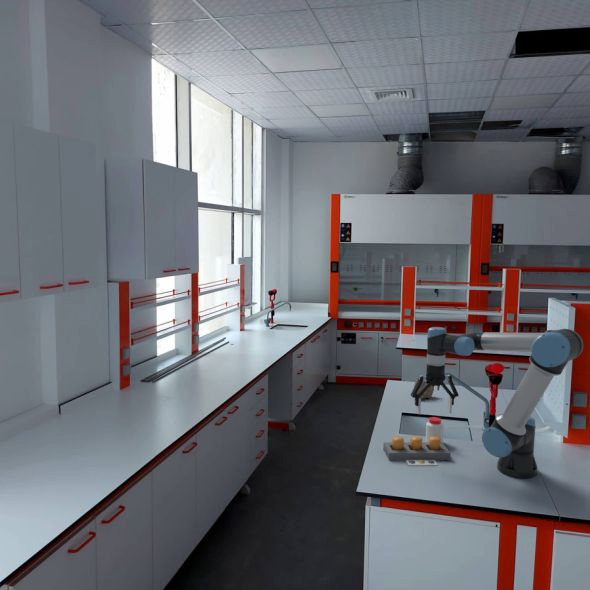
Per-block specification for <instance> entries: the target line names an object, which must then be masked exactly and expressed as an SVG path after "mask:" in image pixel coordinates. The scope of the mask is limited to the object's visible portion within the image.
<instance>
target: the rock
mask: <svg viewBox="0 0 590 590" xmlns="http://www.w3.org/2000/svg"><path fill="white" fill-rule="evenodd" d="M425 382H426V381H425V380H424V381H423V382H422V384H421V386H420V388H419V390H420V389H421V388H422V386H423V385H424V384H425ZM416 383H417V381H415V383H414V385H413V388H414V387H415V385H416ZM419 390H418V391H419ZM434 390H435V386H430V387H428V389H427V390H426V391H425V392H424V393H423V394H422V395H421V397H420V399H421V400H422V399H426V398H427V399H429V398H430V399H431V398H432V396H433V394H434Z"/></svg>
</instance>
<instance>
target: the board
mask: <svg viewBox="0 0 590 590" xmlns="http://www.w3.org/2000/svg"><path fill="white" fill-rule="evenodd" d="M428 447H429V442H426V441H425V442H424V441H422V450H411V449H410V441H408V442H404V450H393V449H392V441H391V442H389V441H387V442H383V451H384V454H385V455H386V458H387V459H388V461H406V460H435V461H437V460H439V461H441V460H442V461H444V460H445V461H446V460H447V461H450V460H451V452H450V450H449V449H448V448H447V447H446V446H445V444H444V442H443V443H442V442H441V445H440V450H430V449H429V448H428Z"/></svg>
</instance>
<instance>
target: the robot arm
mask: <svg viewBox="0 0 590 590" xmlns="http://www.w3.org/2000/svg"><path fill="white" fill-rule="evenodd" d="M426 339H427V340H426V341H427V344H426V345H427V348H426V363H427V364H426V368H425V369H426V371H425V372H426V373H425V374H426V375H421V374H419V375H418V378H417V381H416V382H417V383H416V385H415V384H414V385H415V387H414V386H413V389H412V391H411V393H410V396H411V397H412V398H414V405H415V407H416V414H418V415H421V412H422V411H421V410H422V409H421V406H422V405H421V404H422V399H420V397H421V395H422V394H423V393H424V392H425V391H426V390H427V389H428V387H430V386H434V387H439V386H441V387H442V388H443V390H444V391H445V393H447V394H448V396H447V408H446V409H447V411H446V412H448V414H452V411H453V409H452V408H453V406H454V405H455V399H456V397H460V395H459V392H458V390H457V388H456V386H455V383H454V382H453V376H452V375H451V374H445V373H446V365H445V364H446V353H449V354H453V355H457V356H458V355H459V356H470V355H472V353H473V352H474V351H493V352H495V351H496V352H518V353H519V352H522V353H523V352H524V353H531V354H530V356H529V358H528V359H529V362H530V365H529V366H528V369H527V371H526V372H525V374H524V375H523V377H522V379H521V381H520V383H519V385H518V387H517V388H516V390H515V392H514V393H513V396H512V397H511V398H510V400H509V403H508V404H507V405H506V407H505V409H504V411H503V413H500V414H497V415H496V416H495V418H494V421H493V422H492V424H491V425H490V427H487V428H486V429H485V430H484V431H482V434H481V442H482V444H483V448H484V449H485V450H486V452H488V454H489V455H491V456H493V457H495V458H498V460H497V464H496V468H497V471H499V472H500V473H502V474H504V475H506V476H509V477H513V478H518V479H519V478H520V479H530V478H535V477H536V476H537V475H538V465H537V462H536V458H535V455H534V453H535V452H534V451H535V438H536V437H535V436H536V419H535V418H534V417H533V416H532V414H533V412H534V411H535V409H536V408H537V405H538V404H539V402H540V401H541V399H542V398H543V396H544V394H545V393H546V390H547V389H548V387H549V385H550V384H551V382H552V380H553V379H554V377H555V376H560V375H561V374H562V373H563V371H564V369H565V368H566V366H567V364H568V363H569V361H573V360H575V359H577V358H578V357H579V356H580V355H581V353H583V349H584V342H583V338H582V337H581V335H580V334H578V332H577V331H575V330H573V329H569V328H561V329H547V330H546V331H544V332H497V331H496V332H493V331H491V332H489V331H488V332H487V331H486V332H483V331H478V330H477V331H476V330H475V331H472V332H467V333H463V334H460V335H456V334H451V333H450V334H449V333H447V329H446V328H445V327H440V326H439V327H438V326H432V327H430V328H428V329H427V337H426ZM425 380H426V381H425ZM445 380H446V381H447V383H448V384H449V387H450V389H451V390H450V389H449V388H448V387H447V385H446V384H445V383H444V382H445ZM423 381H424V382H425V384H424V385H423V386H422V388H421V389H420V390H419V388H420V386H421V384H422V382H423ZM418 390H419V391H418Z"/></svg>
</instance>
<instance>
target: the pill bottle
mask: <svg viewBox="0 0 590 590" xmlns="http://www.w3.org/2000/svg"><path fill="white" fill-rule="evenodd" d="M425 424H426V425H425V442H429V437H439V438H440V439H441V442H442V443H443V444H444V429H445V428H444V427H445V426H444V424H443V422H442V419H441V417H438V416H437V417H436V416H431V417H429V418H428V421H427V422H426V423H425Z"/></svg>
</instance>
